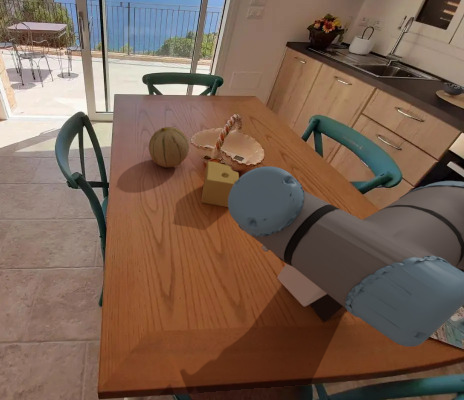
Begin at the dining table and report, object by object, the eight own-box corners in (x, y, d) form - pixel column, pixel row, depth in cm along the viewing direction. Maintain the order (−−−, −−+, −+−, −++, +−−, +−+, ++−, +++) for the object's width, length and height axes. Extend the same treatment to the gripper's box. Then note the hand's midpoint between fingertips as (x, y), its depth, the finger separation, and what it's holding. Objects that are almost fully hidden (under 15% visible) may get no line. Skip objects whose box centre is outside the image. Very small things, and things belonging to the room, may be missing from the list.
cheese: (231, 189, 94) (239, 165, 87) (231, 209, 86) (240, 186, 79) (201, 183, 95) (207, 160, 88) (199, 203, 87) (205, 179, 80)
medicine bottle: (327, 293, 54) (363, 258, 46) (303, 307, 52) (336, 273, 44) (299, 266, 59) (326, 229, 51) (275, 277, 56) (300, 241, 48)
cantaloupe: (191, 172, 100) (199, 136, 90) (154, 177, 96) (157, 140, 86) (177, 151, 110) (182, 117, 100) (143, 155, 107) (145, 120, 97)
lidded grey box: (319, 324, 60) (368, 282, 48) (282, 279, 68) (316, 232, 56) (343, 314, 62) (397, 270, 50) (304, 271, 70) (342, 224, 58)
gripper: (232, 206, 46) (273, 242, 61) (330, 319, 32) (351, 329, 47) (268, 176, 44) (301, 221, 59) (389, 282, 30) (391, 306, 45)
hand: (323, 269), depth 53 cm, fingers closed on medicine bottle, 8 cm apart
